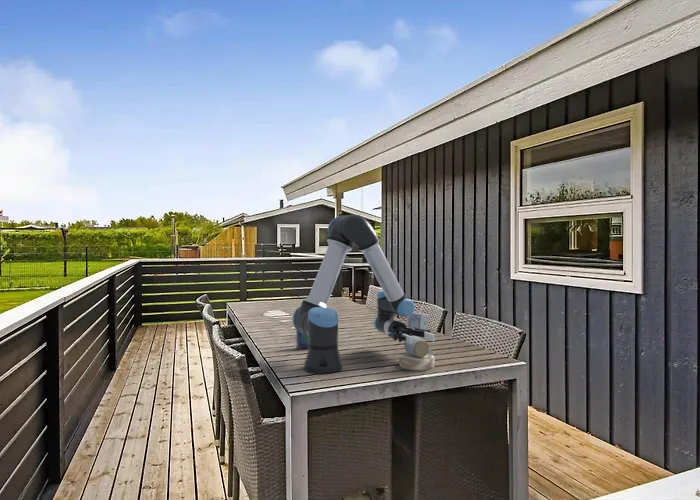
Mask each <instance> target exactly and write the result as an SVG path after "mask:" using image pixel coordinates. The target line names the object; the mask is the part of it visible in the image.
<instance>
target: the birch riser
mask: <svg viewBox="0 0 700 500" xmlns="http://www.w3.org/2000/svg"><path fill="white" fill-rule="evenodd" d="M398 358H399V359H398V360H399V363H398V364H399V367H400V368H402V369H404V370H409V371H428V370H431V369H434V368H435V366H436V365H435V362H436V361H435V358H436V357H435V355H433V354H432V355H430V354H428V353H427V355H426V356H424V357H421V358H419V357H415V356H413V355H411V354H409V353H407V352H404V353H400V354H399V357H398Z"/></svg>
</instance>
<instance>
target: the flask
mask: <svg viewBox="0 0 700 500" xmlns="http://www.w3.org/2000/svg"><path fill="white" fill-rule="evenodd" d="M295 331H296V349H299V350H308V349H309V339H308V336H306V335H303V334H301V333H299V332H298V331H297V330H296V329H295Z"/></svg>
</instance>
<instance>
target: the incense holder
mask: <svg viewBox="0 0 700 500" xmlns="http://www.w3.org/2000/svg"><path fill="white" fill-rule="evenodd" d="M430 318H431V315H430V314H428V313H427V314H426V313H420V312H415V311H414V312H413V314H412V315H410V316H408V317H407V324H406V326H407V327H409V328H413V329H414V327H416V328H419V329H424V330H429V331H430V329H429V320H430Z"/></svg>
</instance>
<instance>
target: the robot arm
mask: <svg viewBox="0 0 700 500" xmlns="http://www.w3.org/2000/svg"><path fill="white" fill-rule="evenodd" d="M327 233H328V237H327V239H326V241H327V244H328V245H327V249H326V251H325V254H324V257H323V259H322V261H321V264H320V267H319V268H318V272H317V274H316V276H315V279H314V281H313V284H312V287H311V289H310V292H309V294H308V296H307V297H306V298H303V300H302V302H301V304H300V306H299V307H297V308H296V309H294V312H293V314H292V318H291V319H292V325H293V328H294V329H295V331H296V330H297V331H298V332H299V333H301V334H303V335H306V336H308V339H309V349H307V354H306V357H305V358H306V359H305V360H304V363H303V365H304V366H303V369H304V370H305V372H308V373H312V374H313V373H314V374H332V373H337V372H340V371H342V369H343V365H344V364H343V363H344V362H343V360H342V359H341V358H342V357H341V354H340V351H339V317H338V316H339V315H338V312H337V310H335V309H334V308H331V307H329V306H328V303H329V300H330V298H331V295H332V293H333V290H334V287H335V285H336V283H337V280H338V277H339V274H340V272H341V270H342V267H343V264H344V262H345V259H346V256H347V254H348V253H349V252H351V251H352V250H353V248H354V245H355V246H356V248H357V250H358V251H359V252H361V253H362V254H363V255H364V258H365V259H366V261H367V263H368V265H369V267H370V269H371V271H372V273H373V274H374V276H375V279H376V281H377V282H378V284H379V286H380V288H381V289H382V290H379V291H377V296H376V297H377V298H376V304H377V305H376V306H377V307H376V308H377V316H376V317H375V319H374V321H373V326H374V328H375V330H377V332H380V333H382V334H385V335H386V336H388V337H390V338H392V340H394V341H398V343H402V342H404V343H405V342H407V343H410V344H412V337H411V336H417V337H419V338H424V339H425V340H428V341H431V342H435V337H436V336H435V334H434V333H431V332H432V331H431V330H430V329H429V330H424V329H419V328H416V327H414V329H413V328H409V327H407V324H406V323H405V322H403V321H401V320H398V319H395V316H399V317H405V318H408V316H410V315H412V314H413V312H415V308H416V306H415V303H414V302H413V301H412V300H411V299H409V298H407V296H406V295H405V292H404V291H403V289H402V287H401V285H400V283H399V281H398V279H397V277H396V274H395V273H394V271H393V269H392V267H391V265H390V263H389V261H388V259H387V257H386V255H385V253H384V252H383V250H382V248H381V245H380V244H379V243H380V239H379V236H378V234H377V232H376V231H375V229H374V226H372V225H371V223H370V222H369V221H368V220H367V219H366V218H365V217H364V216H362V215H360V214H349V215H339V216H337V217H334V218H333V219H332V220H331V221H330V222H329V224H328V226H327Z"/></svg>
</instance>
